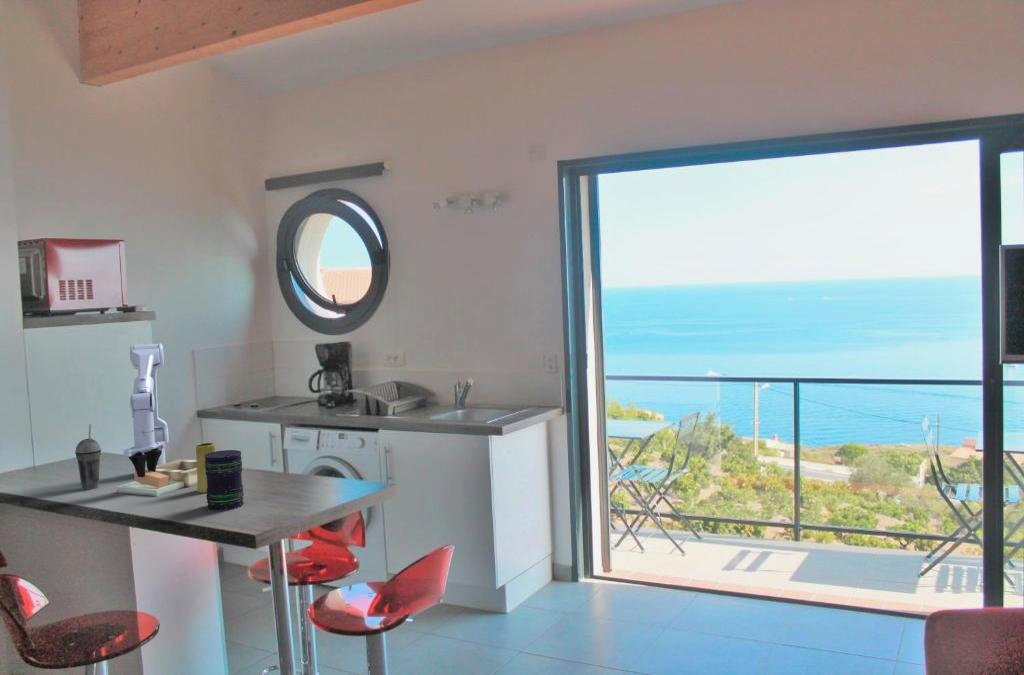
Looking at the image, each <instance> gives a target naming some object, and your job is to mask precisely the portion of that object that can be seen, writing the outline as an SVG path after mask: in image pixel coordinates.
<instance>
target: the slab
mask: <svg viewBox="0 0 1024 675" xmlns="http://www.w3.org/2000/svg"><path fill="white" fill-rule="evenodd" d="M134 473H135V475H133V476H134V477H133V479H134V480H133V482H134V481H136V482H140V483H143V484H147V485H150V486H154V487H157V488H161V487H164V486H167V485H168V478H169V476H167V475H164V474H160V473H156V472H153V471H149V470H146V469H145V477H138V475H137V472H136V471H135V470H134Z"/></svg>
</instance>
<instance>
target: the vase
mask: <svg viewBox="0 0 1024 675" xmlns="http://www.w3.org/2000/svg"><path fill="white" fill-rule="evenodd" d="M195 450H196V452H195V453H196V454H195V455H196V456H195V457H196V460H197V485H196V492H197V493H201V494H207V490H206V489H207V476H206V473H205V472H206V469H205V460H206V459H205V454H207V453H211V452H216V451H215V443H213V442H201V443H197V444H196V445H195Z"/></svg>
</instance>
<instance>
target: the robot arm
mask: <svg viewBox="0 0 1024 675" xmlns="http://www.w3.org/2000/svg"><path fill="white" fill-rule="evenodd" d="M164 357H165V355H164V345H163V344H162V343H161V342H159V343H150V344H148V343H145V344H144V343H143V344H131V345H130V347H129V358H130V359H129V360H130V362H131V365H132V367H133V369H135V370H137V376H136V377H134V379H133V388H132V389H133V390H132V395H130V397H129V398H130V399H129V406H130V411H131V418H132V419H133V420H132V423H133V424H132V425H133V426H132V427H133V439H134V440H133V441H134V446H132V447H129V448H127V449H123V457H125V458H128V459H129V460H130V462H131V463H132V465H133V467H134V473H133V474H132V475H133V476H134V475H135V471H136V472H137V475H138V477H145V469H147V470H149V471H153V472H155V471H156V466H158V465H161V464H165V463H167V461H166V446H167V445H169V442H170V439H169V436H170V434H169V429H168V427H169V426H168V423H167V422H166V421H165V420H164V419H162V418H160V417H159V405H158V404H159V403H158V401H159V400H158V381H157V380H158V379H157V375H158V371H159V370H160V369H161V368H163V367H164V364H165V362H164Z"/></svg>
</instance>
